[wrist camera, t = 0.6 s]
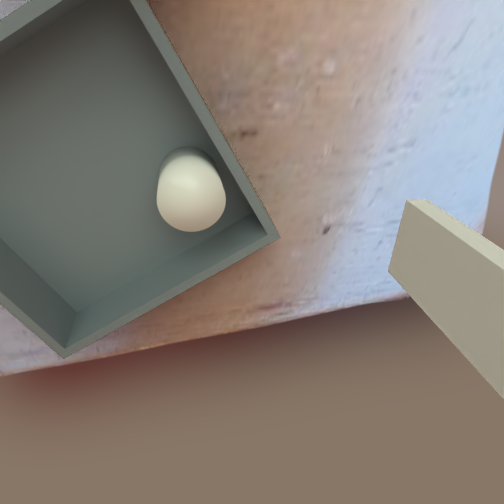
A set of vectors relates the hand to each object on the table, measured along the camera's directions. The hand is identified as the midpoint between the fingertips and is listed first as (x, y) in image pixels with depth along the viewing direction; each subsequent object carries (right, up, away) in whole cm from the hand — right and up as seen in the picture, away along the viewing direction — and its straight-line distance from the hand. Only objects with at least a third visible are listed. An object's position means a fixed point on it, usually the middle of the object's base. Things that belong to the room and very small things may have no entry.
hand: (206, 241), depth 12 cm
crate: (-12, +6, +21) cm, 25 cm away
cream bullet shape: (-4, +6, +22) cm, 23 cm away
